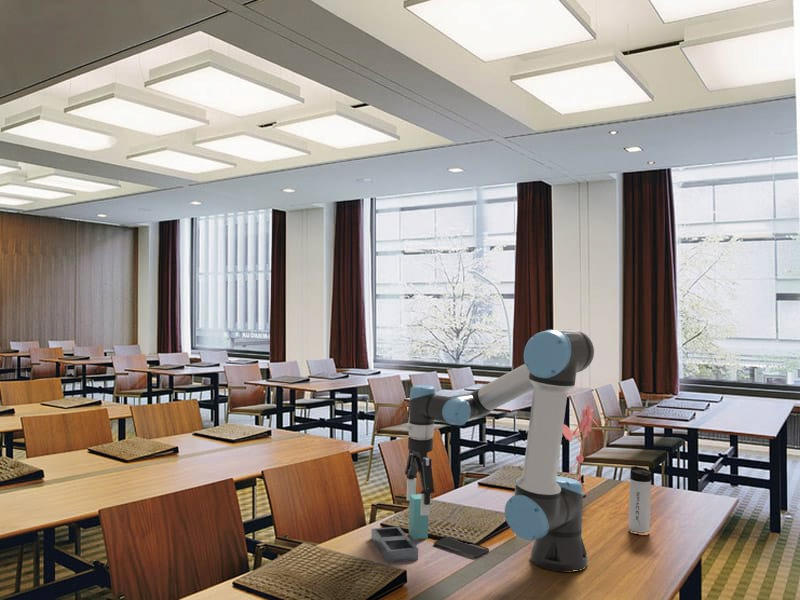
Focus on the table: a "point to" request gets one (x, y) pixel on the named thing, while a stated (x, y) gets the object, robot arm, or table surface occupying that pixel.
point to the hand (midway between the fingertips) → (417, 507)
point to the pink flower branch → (584, 426)
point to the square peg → (417, 519)
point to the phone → (461, 547)
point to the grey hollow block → (394, 544)
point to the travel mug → (639, 500)
